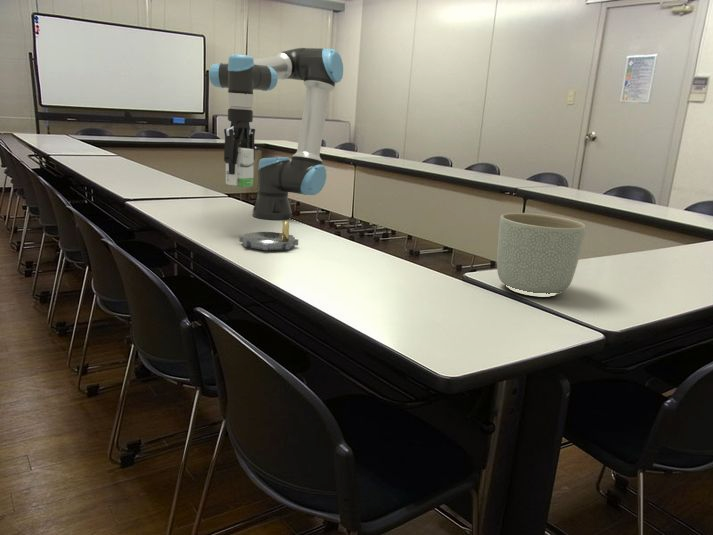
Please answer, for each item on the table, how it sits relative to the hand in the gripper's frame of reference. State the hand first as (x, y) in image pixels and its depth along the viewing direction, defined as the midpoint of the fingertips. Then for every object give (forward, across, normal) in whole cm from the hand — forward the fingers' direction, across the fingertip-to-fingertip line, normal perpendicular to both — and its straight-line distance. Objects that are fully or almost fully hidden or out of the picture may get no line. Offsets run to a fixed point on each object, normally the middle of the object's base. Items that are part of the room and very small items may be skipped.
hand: (239, 183), depth 182 cm
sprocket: (+17, +4, +14) cm, 23 cm away
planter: (+18, +4, +93) cm, 95 cm away
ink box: (+1, 0, 0) cm, 1 cm away
